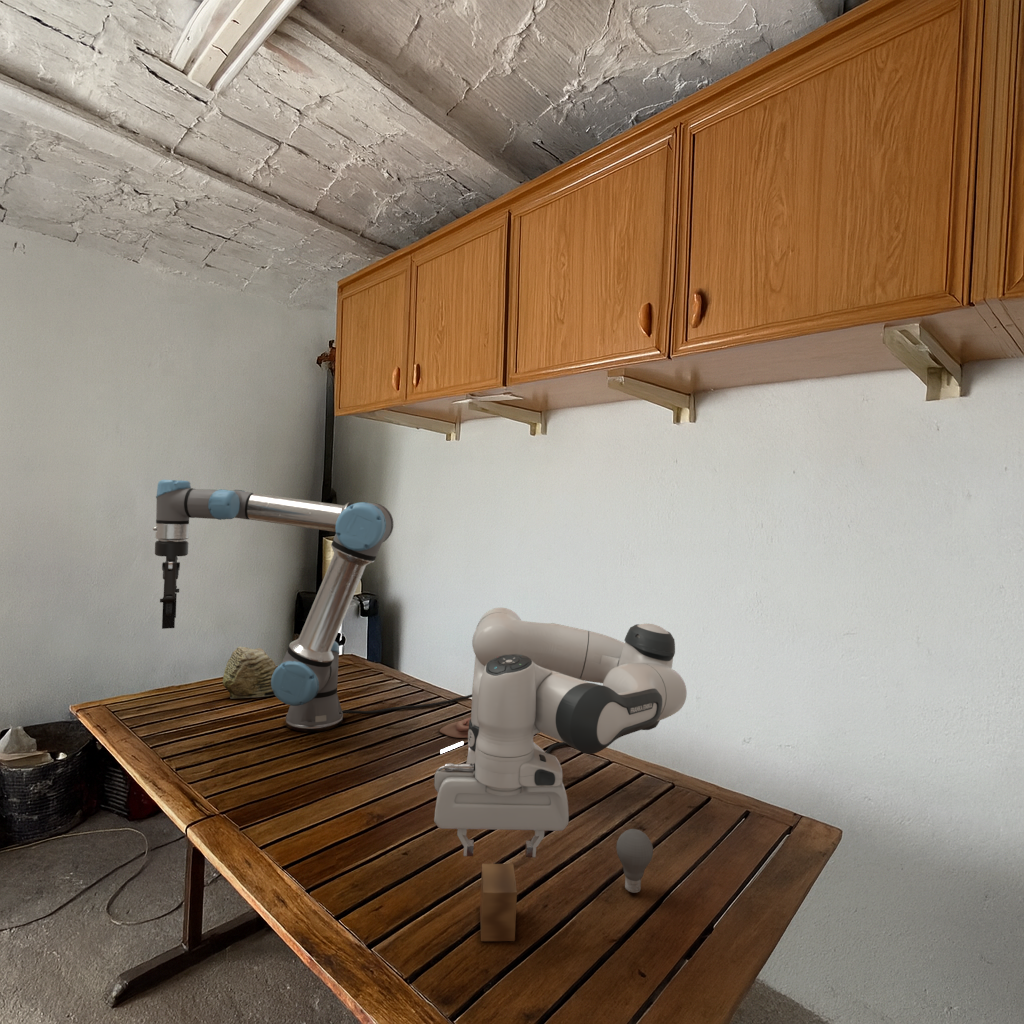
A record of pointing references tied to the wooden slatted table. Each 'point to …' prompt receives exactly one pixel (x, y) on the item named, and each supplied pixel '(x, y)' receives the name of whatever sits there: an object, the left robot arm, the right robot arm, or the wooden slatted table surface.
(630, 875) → the light bulb
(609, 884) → the wooden slatted table surface
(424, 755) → the wooden slatted table surface
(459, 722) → the anatomical model
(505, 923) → the tan brown block
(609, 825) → the wooden slatted table surface
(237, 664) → the fossil
